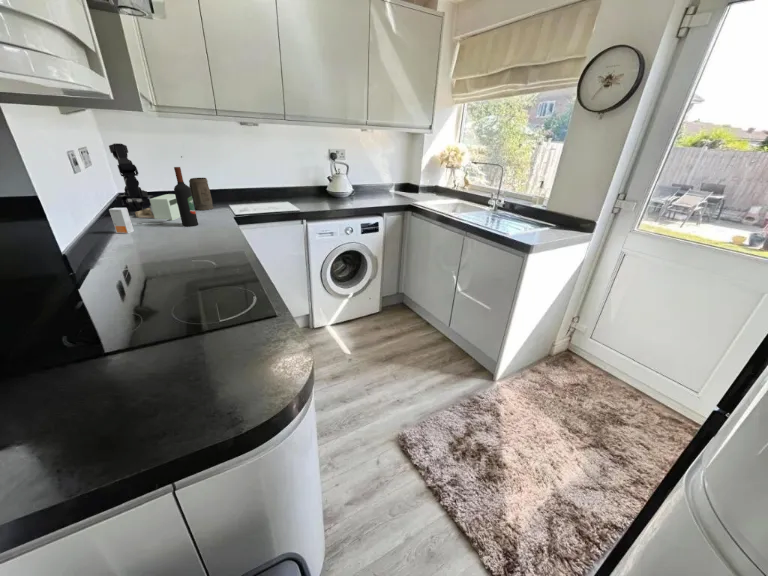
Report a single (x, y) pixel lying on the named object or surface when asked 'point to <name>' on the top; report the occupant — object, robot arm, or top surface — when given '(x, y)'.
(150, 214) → the tray
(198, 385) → the top surface
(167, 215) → the pale green box
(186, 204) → the wine bottle
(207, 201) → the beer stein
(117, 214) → the skincare box
